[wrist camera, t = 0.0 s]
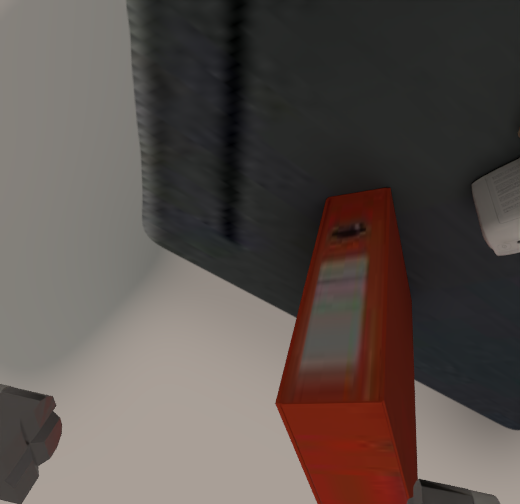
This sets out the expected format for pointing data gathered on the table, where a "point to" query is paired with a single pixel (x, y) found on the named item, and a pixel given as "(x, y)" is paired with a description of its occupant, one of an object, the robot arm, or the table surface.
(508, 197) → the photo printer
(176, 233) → the table surface
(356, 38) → the table surface
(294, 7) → the table surface
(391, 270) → the file binder
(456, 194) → the table surface
